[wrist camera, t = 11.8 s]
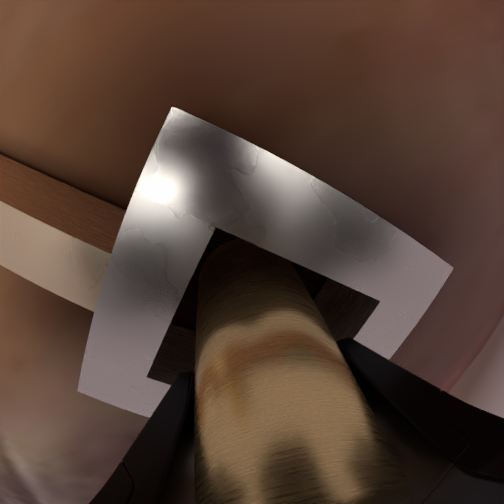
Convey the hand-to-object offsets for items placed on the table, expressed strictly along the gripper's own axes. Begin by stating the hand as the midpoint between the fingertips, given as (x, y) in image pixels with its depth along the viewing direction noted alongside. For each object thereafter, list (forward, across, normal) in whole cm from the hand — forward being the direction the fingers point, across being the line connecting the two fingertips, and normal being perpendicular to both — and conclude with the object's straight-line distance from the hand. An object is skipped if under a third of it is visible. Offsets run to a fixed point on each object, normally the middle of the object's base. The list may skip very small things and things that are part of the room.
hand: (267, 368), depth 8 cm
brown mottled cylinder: (+5, 0, 0) cm, 5 cm away
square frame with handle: (+5, +5, -4) cm, 8 cm away
